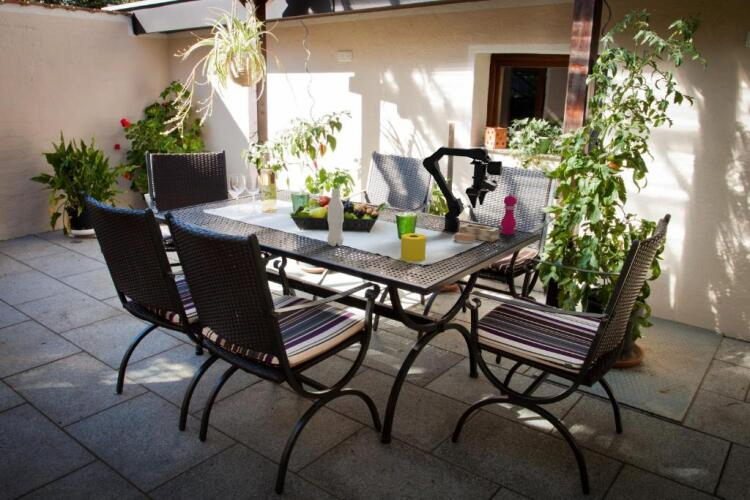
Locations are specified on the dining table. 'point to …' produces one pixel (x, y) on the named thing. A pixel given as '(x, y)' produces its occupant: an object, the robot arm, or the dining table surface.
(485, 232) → the beech pocket board
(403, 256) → the yellow hollow cylinder
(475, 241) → the felt coaster
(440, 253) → the dining table surface
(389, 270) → the dining table surface
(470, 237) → the terracotta block
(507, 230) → the pepper mill
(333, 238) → the water bottle
